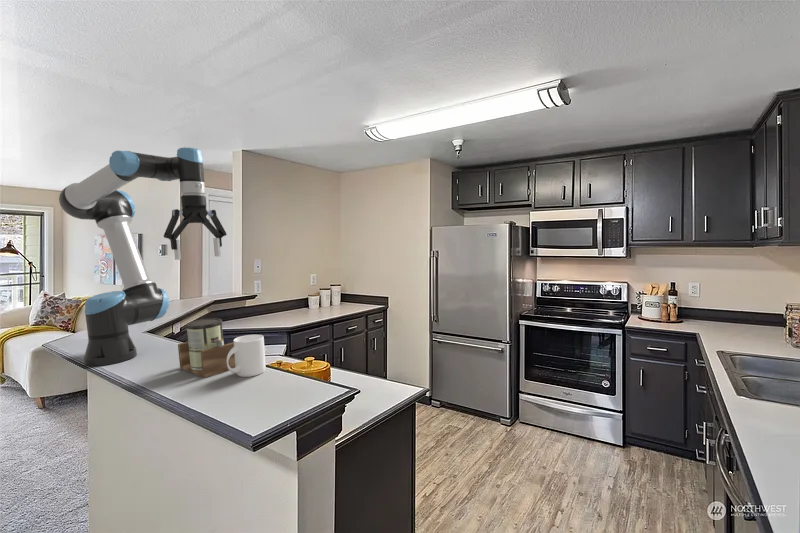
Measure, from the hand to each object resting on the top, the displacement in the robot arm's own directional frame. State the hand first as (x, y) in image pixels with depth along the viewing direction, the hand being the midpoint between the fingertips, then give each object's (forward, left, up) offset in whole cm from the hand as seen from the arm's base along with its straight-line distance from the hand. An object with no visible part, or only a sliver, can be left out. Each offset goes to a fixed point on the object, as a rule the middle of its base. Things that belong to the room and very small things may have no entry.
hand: (198, 258), depth 139 cm
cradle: (+13, -6, -35) cm, 37 cm away
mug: (+29, -3, -35) cm, 45 cm away
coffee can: (+13, -6, -34) cm, 37 cm away
